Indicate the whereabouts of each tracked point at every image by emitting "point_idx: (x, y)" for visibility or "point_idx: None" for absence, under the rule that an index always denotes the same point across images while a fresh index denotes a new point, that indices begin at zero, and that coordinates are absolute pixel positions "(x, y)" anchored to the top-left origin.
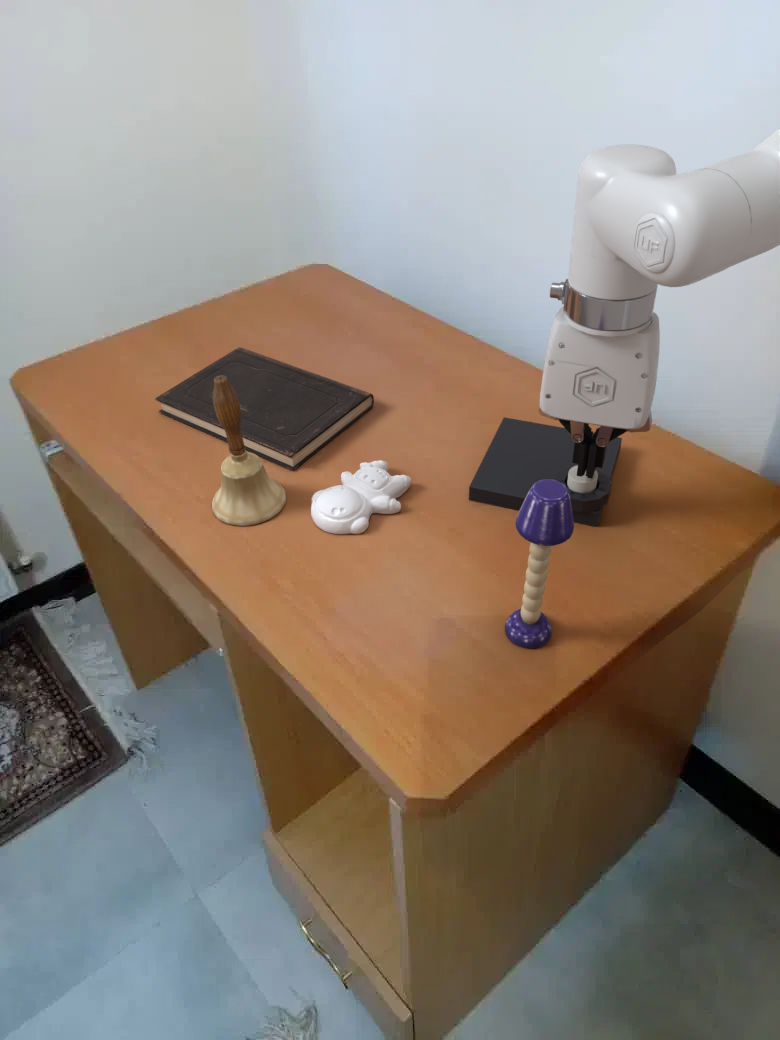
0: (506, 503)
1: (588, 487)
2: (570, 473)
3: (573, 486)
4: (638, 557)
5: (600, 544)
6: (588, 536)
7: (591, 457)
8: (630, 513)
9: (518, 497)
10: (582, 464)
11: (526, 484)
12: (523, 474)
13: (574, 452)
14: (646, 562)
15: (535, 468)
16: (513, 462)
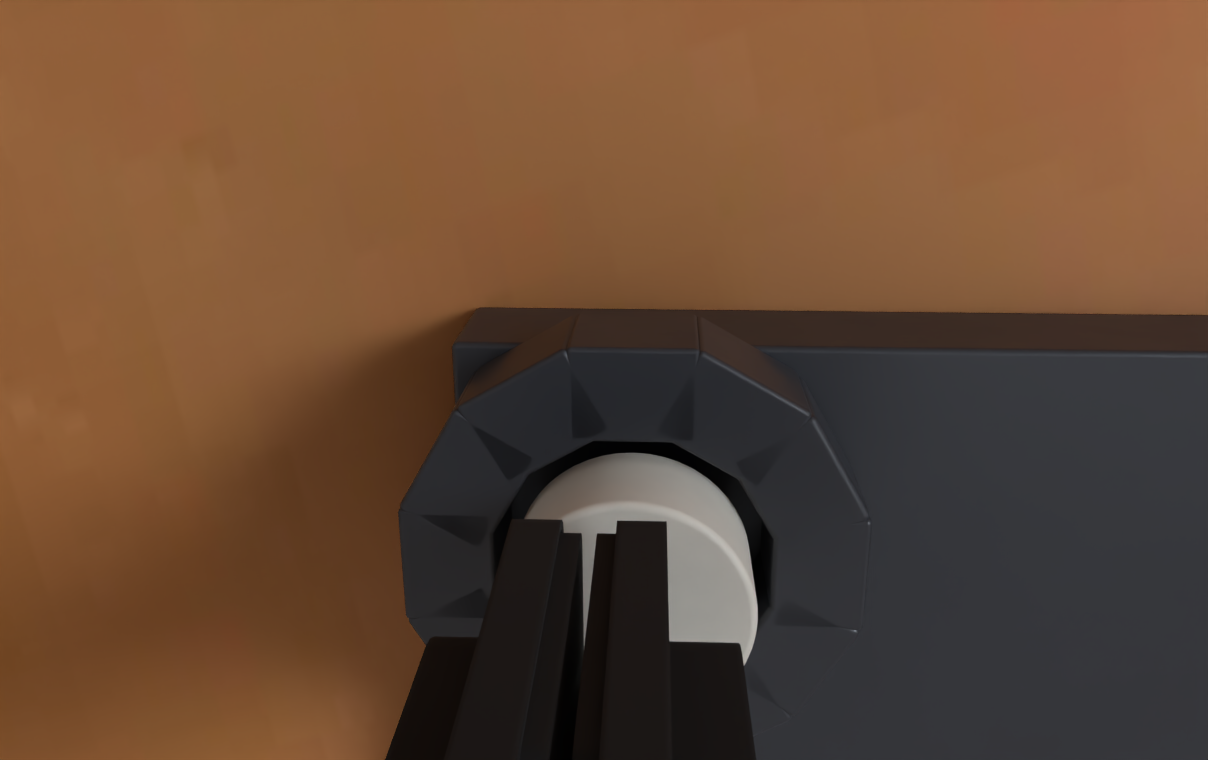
0: (1159, 323)
1: (559, 498)
2: (737, 592)
3: (685, 483)
4: (147, 91)
5: (415, 140)
6: (511, 196)
7: (515, 661)
8: (311, 500)
9: (1099, 349)
10: (618, 593)
11: (1056, 509)
12: (1094, 612)
13: (738, 723)
14: (85, 58)
15: (1011, 697)
16: (1189, 721)
